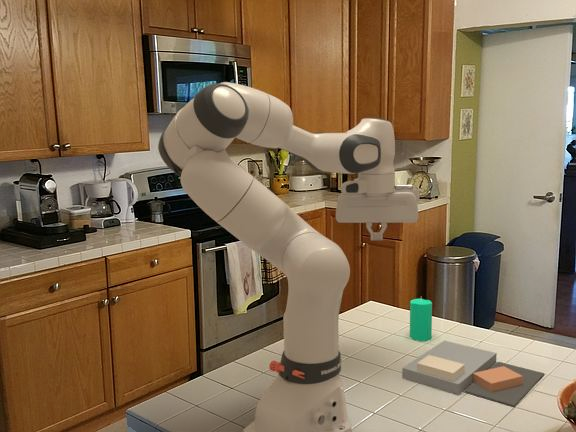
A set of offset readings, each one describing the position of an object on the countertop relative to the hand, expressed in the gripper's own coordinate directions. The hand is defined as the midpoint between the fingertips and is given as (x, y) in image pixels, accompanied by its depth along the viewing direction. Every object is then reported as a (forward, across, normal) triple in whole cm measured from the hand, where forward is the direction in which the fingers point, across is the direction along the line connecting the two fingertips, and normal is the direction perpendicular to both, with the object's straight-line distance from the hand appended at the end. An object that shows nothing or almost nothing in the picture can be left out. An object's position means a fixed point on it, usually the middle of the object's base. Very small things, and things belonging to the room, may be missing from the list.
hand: (376, 240), depth 142 cm
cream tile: (+29, -14, +12) cm, 34 cm away
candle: (+31, -12, -16) cm, 37 cm away
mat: (+31, -29, +12) cm, 44 cm away
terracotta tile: (+31, -27, +13) cm, 43 cm away
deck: (+31, -18, +6) cm, 36 cm away
